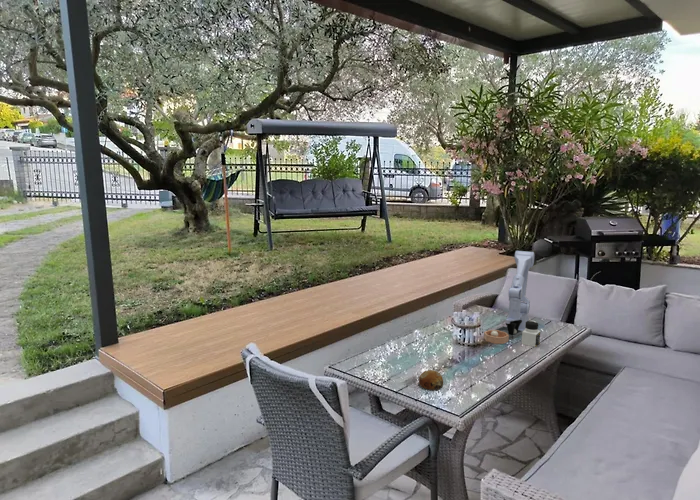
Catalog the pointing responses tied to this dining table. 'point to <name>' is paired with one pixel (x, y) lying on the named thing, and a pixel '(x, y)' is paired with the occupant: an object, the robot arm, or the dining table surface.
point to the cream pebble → (494, 334)
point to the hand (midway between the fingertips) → (512, 333)
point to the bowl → (501, 338)
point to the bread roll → (431, 380)
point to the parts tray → (508, 333)
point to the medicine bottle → (531, 334)
